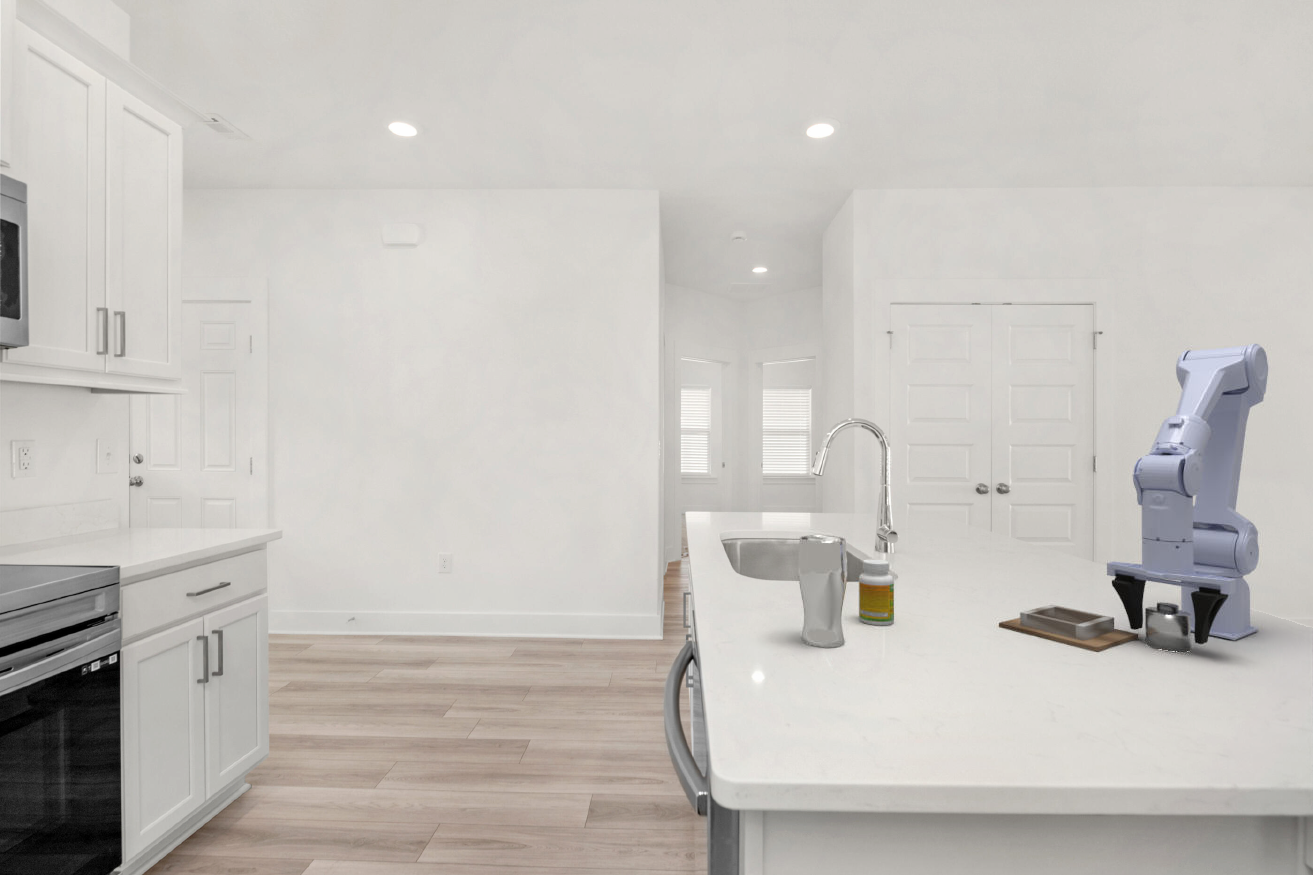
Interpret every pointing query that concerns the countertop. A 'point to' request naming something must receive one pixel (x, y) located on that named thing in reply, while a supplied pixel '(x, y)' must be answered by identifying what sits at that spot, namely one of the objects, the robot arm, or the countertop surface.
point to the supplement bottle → (876, 593)
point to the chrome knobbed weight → (1168, 628)
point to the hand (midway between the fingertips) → (1167, 635)
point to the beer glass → (822, 588)
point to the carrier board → (1070, 627)
